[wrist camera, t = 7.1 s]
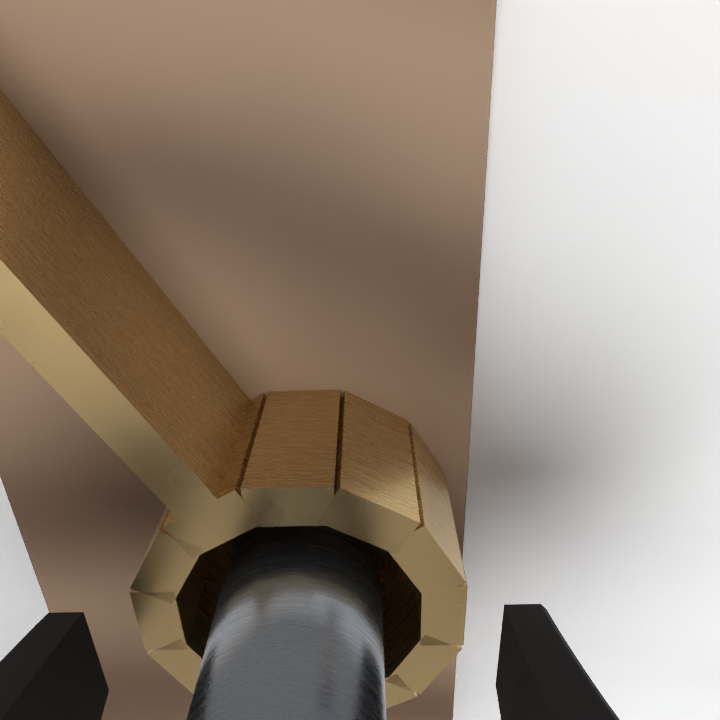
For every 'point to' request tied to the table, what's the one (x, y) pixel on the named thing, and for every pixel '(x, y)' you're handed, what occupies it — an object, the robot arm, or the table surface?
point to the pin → (295, 630)
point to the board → (253, 247)
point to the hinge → (215, 433)
